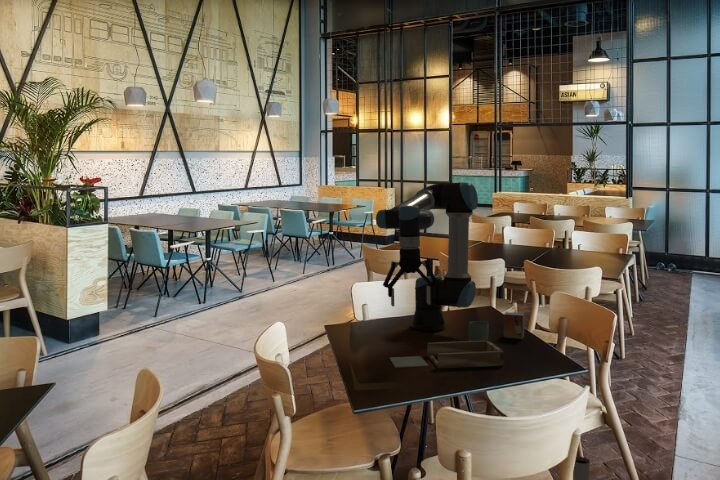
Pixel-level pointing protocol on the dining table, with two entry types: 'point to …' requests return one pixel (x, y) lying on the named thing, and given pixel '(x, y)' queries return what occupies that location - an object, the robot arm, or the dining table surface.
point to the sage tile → (408, 361)
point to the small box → (514, 325)
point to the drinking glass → (581, 468)
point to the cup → (478, 330)
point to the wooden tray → (465, 354)
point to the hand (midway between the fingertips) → (410, 304)
